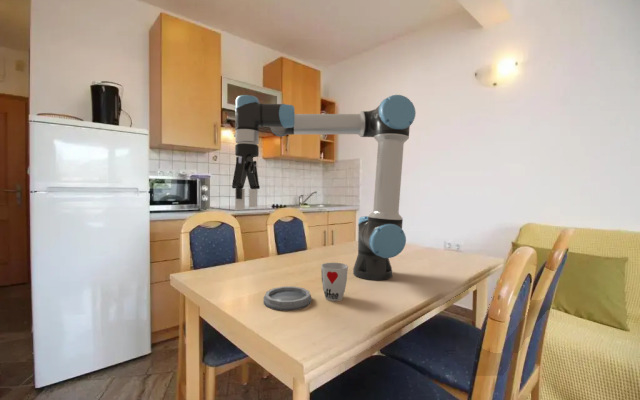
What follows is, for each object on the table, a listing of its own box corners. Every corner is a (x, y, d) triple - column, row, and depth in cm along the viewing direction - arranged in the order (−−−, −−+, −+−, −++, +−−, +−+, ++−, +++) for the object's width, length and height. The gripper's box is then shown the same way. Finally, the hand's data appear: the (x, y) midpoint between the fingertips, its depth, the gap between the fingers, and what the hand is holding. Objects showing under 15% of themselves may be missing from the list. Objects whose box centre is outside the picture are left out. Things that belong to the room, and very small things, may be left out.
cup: (315, 298, 89) (315, 265, 89) (332, 291, 95) (332, 261, 95) (335, 305, 84) (336, 270, 83) (352, 298, 90) (353, 265, 89)
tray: (310, 292, 94) (310, 285, 94) (312, 310, 80) (312, 302, 80) (266, 292, 93) (266, 286, 93) (260, 310, 79) (260, 302, 79)
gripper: (247, 149, 110) (247, 206, 110) (220, 137, 85) (220, 210, 85) (267, 149, 109) (267, 206, 110) (245, 137, 84) (245, 211, 85)
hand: (247, 208), depth 98 cm, fingers open, 13 cm apart
